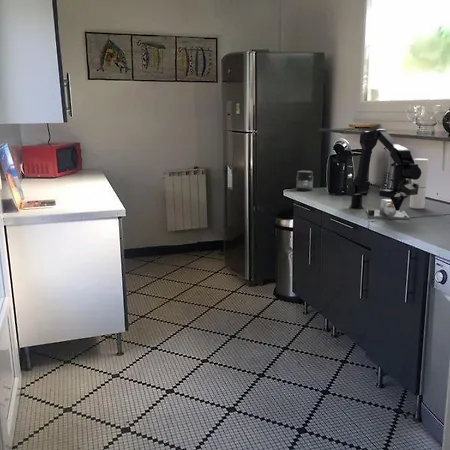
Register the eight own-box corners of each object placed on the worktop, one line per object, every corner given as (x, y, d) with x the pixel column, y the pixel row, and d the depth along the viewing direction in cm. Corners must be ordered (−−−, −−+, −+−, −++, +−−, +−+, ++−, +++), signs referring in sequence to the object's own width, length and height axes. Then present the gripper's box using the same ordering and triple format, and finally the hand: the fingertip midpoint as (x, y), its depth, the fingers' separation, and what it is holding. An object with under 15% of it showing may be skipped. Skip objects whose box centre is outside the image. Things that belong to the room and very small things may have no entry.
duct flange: (365, 211, 244) (365, 204, 243) (403, 212, 241) (404, 205, 240) (368, 218, 229) (368, 210, 228) (409, 219, 225) (410, 212, 225)
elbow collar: (379, 210, 238) (379, 198, 237) (393, 211, 237) (394, 198, 236) (381, 217, 223) (382, 204, 221) (397, 218, 221) (399, 205, 220)
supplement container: (305, 188, 317) (305, 170, 314) (316, 190, 308) (317, 171, 305) (292, 189, 311) (293, 171, 308) (303, 192, 303) (304, 172, 300)
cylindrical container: (413, 205, 259) (417, 158, 254) (426, 207, 254) (431, 159, 249) (407, 207, 254) (411, 159, 249) (420, 209, 249) (424, 160, 244)
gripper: (398, 180, 210) (395, 215, 214) (428, 177, 219) (425, 211, 222) (379, 177, 220) (377, 211, 224) (409, 175, 228) (406, 207, 232)
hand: (397, 210), depth 225 cm, fingers closed
